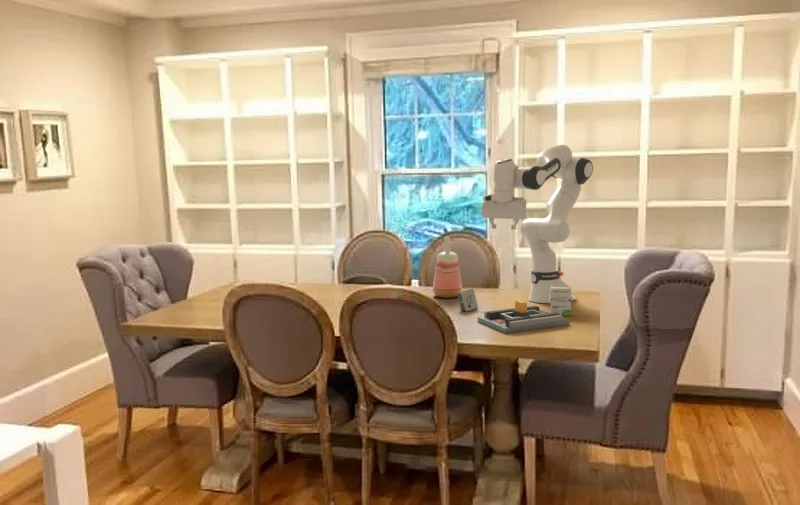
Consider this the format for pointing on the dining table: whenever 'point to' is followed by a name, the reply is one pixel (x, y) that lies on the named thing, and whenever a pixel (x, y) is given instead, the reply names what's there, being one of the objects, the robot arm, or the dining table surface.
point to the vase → (447, 273)
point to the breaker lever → (520, 309)
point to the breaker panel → (502, 327)
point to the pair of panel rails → (525, 320)
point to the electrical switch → (467, 300)
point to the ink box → (561, 300)
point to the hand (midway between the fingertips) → (503, 229)
